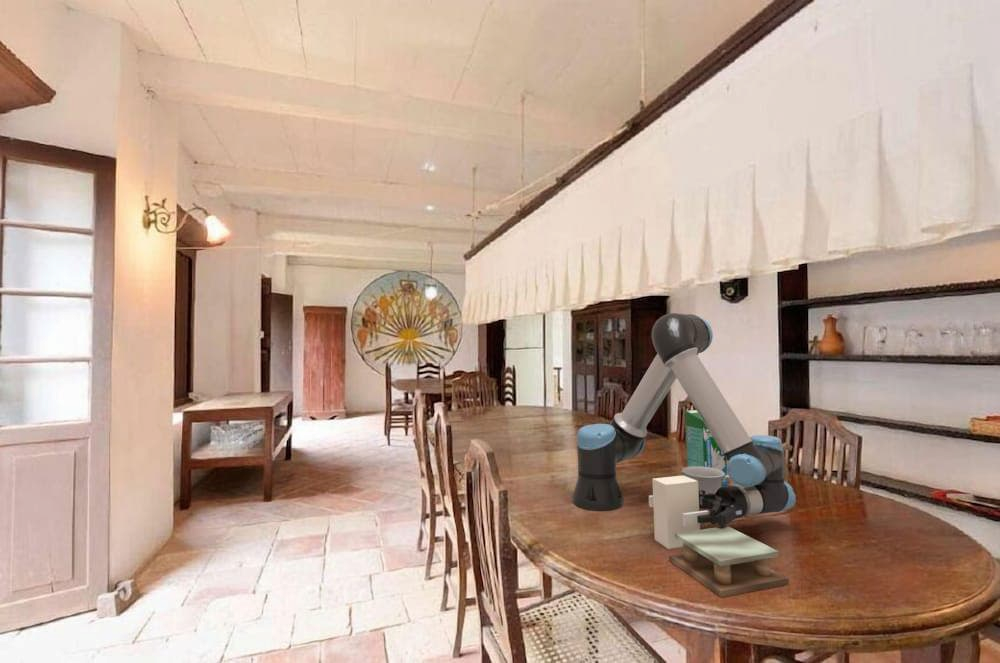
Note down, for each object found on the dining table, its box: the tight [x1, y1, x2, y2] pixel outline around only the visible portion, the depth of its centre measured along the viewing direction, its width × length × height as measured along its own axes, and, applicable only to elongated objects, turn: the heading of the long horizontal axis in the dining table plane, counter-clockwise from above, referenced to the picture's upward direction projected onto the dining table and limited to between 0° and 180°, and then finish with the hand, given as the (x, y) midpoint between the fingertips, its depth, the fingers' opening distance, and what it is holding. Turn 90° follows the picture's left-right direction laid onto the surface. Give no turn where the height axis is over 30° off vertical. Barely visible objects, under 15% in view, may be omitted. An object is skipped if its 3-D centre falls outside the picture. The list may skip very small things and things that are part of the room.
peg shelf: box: [668, 525, 790, 598], centre depth 96 cm, size 16×16×6 cm
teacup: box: [680, 466, 737, 505], centre depth 137 cm, size 12×15×10 cm
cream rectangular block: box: [652, 474, 701, 550], centre depth 112 cm, size 6×9×15 cm, turn 105°
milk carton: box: [684, 409, 728, 487], centre depth 159 cm, size 9×9×25 cm
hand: (665, 510), depth 111 cm, fingers open, 13 cm apart
